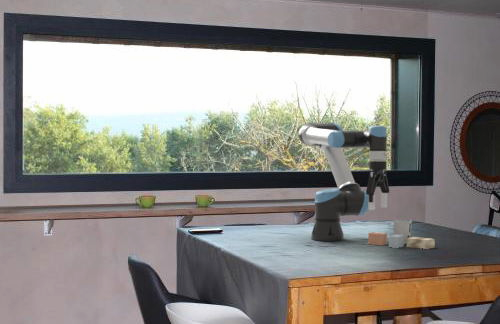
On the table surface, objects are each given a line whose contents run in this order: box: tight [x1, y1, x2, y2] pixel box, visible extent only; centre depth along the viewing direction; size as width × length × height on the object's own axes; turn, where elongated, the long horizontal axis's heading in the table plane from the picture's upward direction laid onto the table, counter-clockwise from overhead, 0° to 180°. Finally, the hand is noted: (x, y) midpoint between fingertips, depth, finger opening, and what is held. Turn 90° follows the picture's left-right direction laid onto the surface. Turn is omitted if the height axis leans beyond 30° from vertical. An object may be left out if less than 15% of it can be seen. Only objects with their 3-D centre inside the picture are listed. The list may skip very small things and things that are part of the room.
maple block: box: [406, 236, 436, 250], centre depth 291 cm, size 10×6×4 cm, turn 46°
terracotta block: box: [367, 231, 388, 246], centre depth 300 cm, size 7×4×5 cm, turn 56°
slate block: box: [388, 234, 405, 249], centre depth 292 cm, size 7×4×5 cm, turn 146°
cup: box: [392, 219, 412, 245], centre depth 303 cm, size 8×8×10 cm
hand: (377, 208), depth 299 cm, fingers open, 13 cm apart
